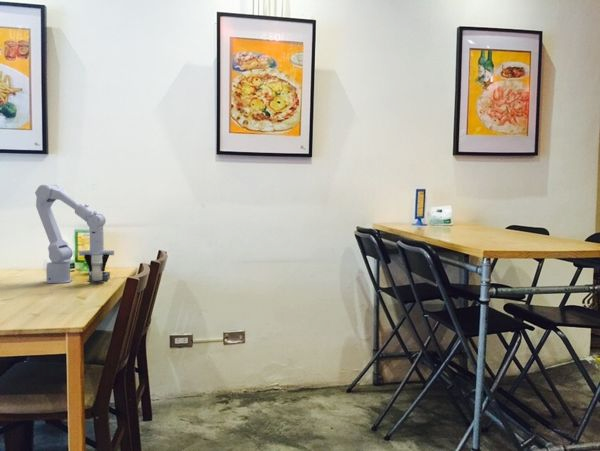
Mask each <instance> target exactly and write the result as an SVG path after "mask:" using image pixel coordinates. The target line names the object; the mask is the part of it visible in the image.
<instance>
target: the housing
mask: <svg viewBox="0 0 600 451" xmlns="http://www.w3.org/2000/svg"><path fill="white" fill-rule="evenodd" d="M110 275H111V272H110V271H104V272H102V277H103V279H102V280H100V281H104V282H108V281H110V278H111V276H110ZM92 281H93V280H92V272H91V273H90V274H88V282H89V283H90V282H92Z"/></svg>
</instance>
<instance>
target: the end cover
mask: <svg viewBox="0 0 600 451" xmlns="http://www.w3.org/2000/svg"><path fill="white" fill-rule="evenodd" d="M102 265H103V263H100V262H96V263H91V266H92V280H93V281H100V280H102V279H103V277H102Z"/></svg>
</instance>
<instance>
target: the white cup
mask: <svg viewBox="0 0 600 451" xmlns="http://www.w3.org/2000/svg"><path fill="white" fill-rule="evenodd" d="M102 256H103V255H92V261H91V263H96V262H100V263H103V261H102ZM102 267H103V265H102ZM87 269H88V275H90V273H91V272H92V271H91V272H89V267H88V266H87Z"/></svg>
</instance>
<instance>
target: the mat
mask: <svg viewBox="0 0 600 451" xmlns="http://www.w3.org/2000/svg"><path fill="white" fill-rule="evenodd" d="M89 284H90V285H101V284H105V281H92V282H89Z"/></svg>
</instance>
